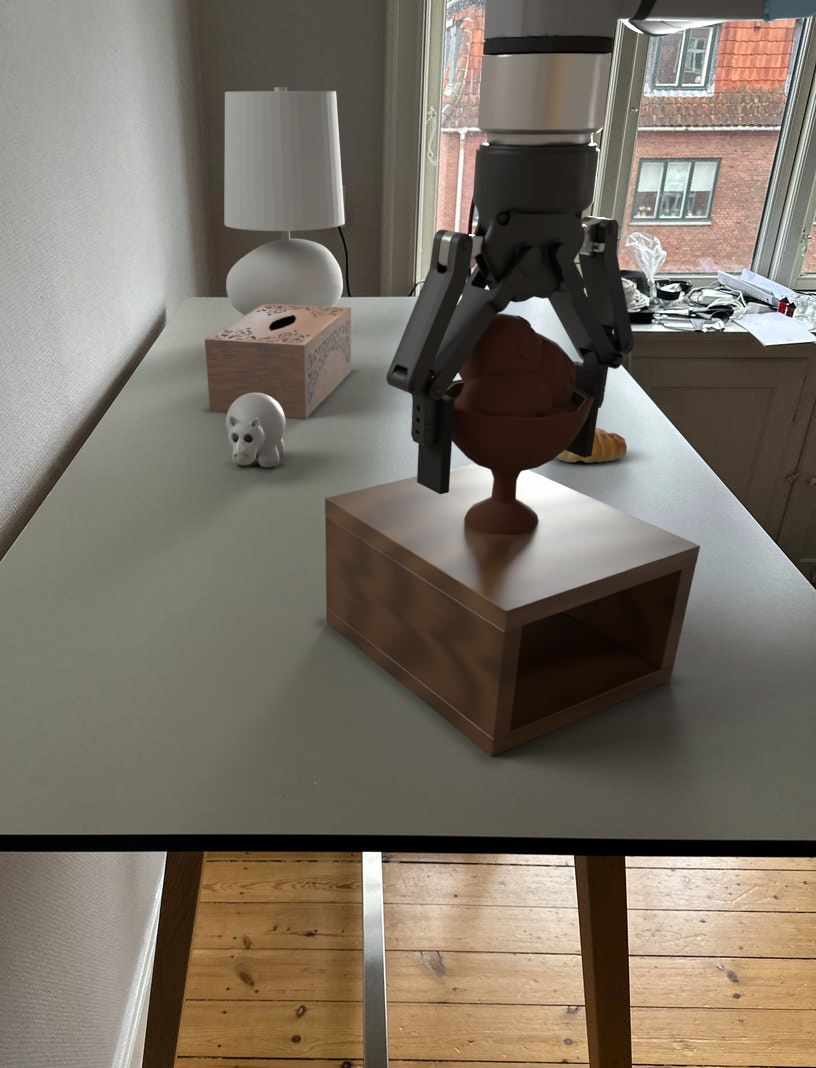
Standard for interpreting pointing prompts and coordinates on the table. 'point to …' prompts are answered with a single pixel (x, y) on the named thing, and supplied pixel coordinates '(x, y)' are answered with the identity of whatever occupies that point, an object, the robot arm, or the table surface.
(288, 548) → the table surface
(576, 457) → the pastry
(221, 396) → the tissue box cover
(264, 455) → the chubby cartoon animal
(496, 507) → the ice cream bowl
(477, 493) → the shelf
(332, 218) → the table lamp
